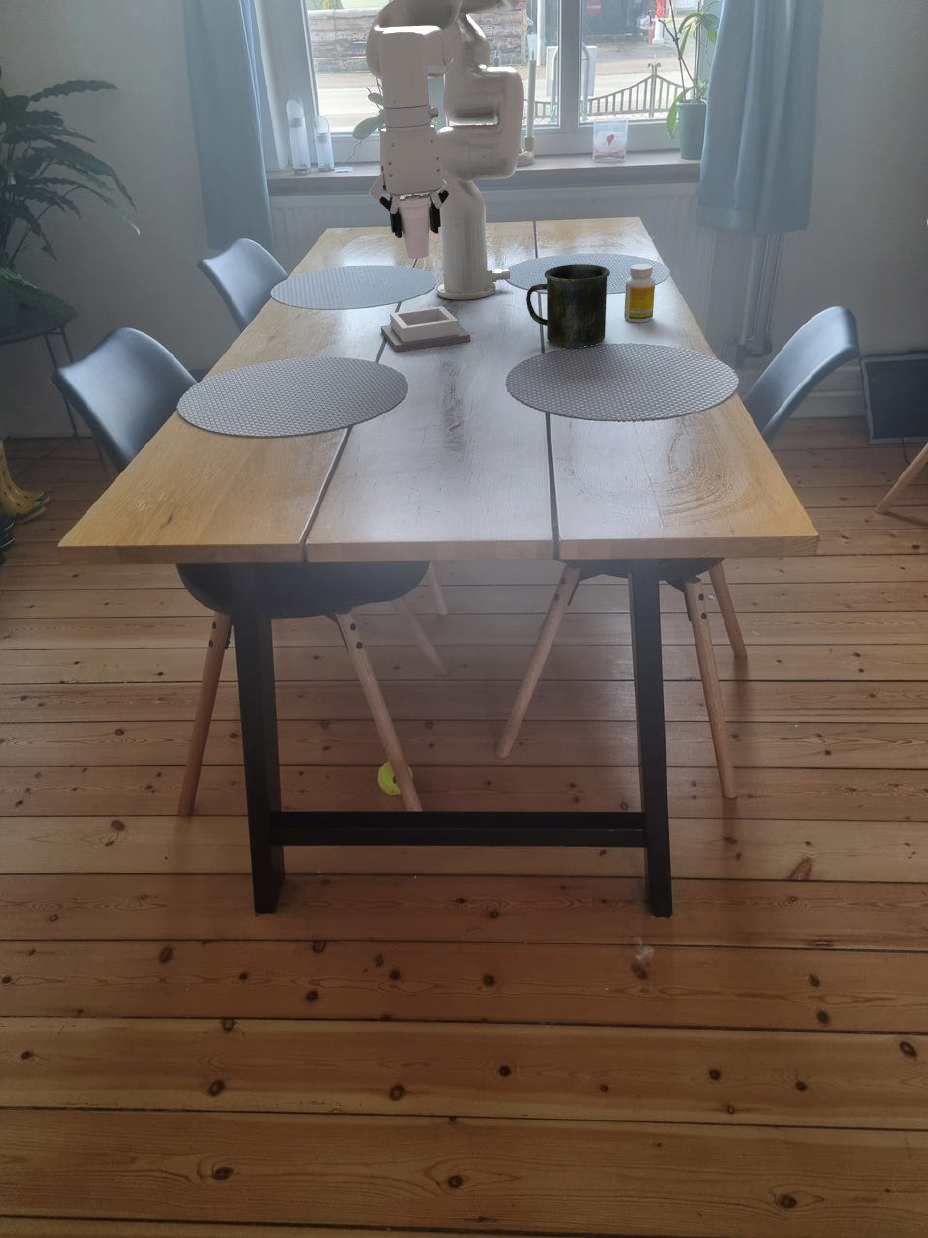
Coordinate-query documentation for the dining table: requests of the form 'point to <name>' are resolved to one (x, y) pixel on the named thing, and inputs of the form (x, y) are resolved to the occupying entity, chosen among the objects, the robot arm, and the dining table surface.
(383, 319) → the dining table surface
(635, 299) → the supplement bottle
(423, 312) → the dock
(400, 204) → the smoothie
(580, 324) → the mug
